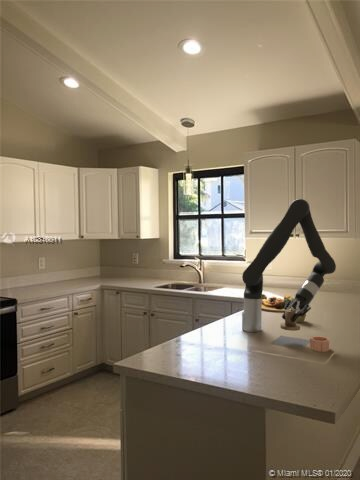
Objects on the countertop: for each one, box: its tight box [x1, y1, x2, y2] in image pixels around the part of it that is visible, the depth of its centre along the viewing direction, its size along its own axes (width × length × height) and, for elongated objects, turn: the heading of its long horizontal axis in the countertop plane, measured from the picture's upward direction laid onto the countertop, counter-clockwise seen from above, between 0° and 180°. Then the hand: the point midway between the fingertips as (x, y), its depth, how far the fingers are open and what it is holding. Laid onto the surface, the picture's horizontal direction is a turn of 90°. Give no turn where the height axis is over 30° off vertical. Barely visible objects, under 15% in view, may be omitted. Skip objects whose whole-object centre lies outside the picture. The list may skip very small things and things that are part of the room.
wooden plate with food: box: [262, 293, 295, 314], centre depth 269 cm, size 32×32×8 cm
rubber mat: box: [269, 335, 310, 350], centre depth 189 cm, size 15×16×1 cm
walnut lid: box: [279, 310, 301, 332], centre depth 189 cm, size 9×9×8 cm
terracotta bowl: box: [309, 335, 331, 353], centre depth 179 cm, size 8×8×5 cm
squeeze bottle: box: [292, 290, 307, 323], centre depth 230 cm, size 8×8×18 cm
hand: (287, 319), depth 188 cm, fingers closed on walnut lid, 5 cm apart
